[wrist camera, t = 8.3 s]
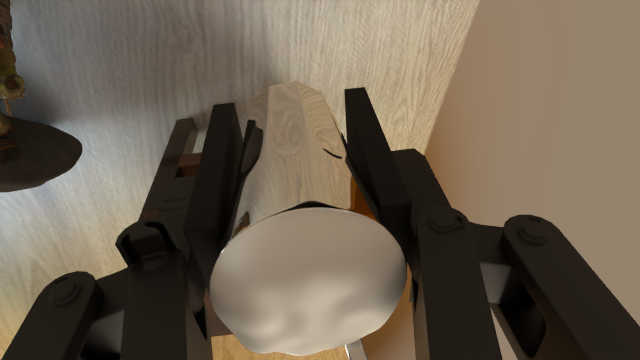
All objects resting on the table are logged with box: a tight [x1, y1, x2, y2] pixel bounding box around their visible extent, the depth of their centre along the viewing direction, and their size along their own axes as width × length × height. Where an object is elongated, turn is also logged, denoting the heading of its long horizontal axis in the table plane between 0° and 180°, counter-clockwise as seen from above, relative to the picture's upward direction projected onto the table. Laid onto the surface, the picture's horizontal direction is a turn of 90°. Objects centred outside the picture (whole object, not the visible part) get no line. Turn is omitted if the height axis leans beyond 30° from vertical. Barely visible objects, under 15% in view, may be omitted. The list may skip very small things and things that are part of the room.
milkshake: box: [210, 81, 407, 360], centre depth 12 cm, size 4×5×10 cm
